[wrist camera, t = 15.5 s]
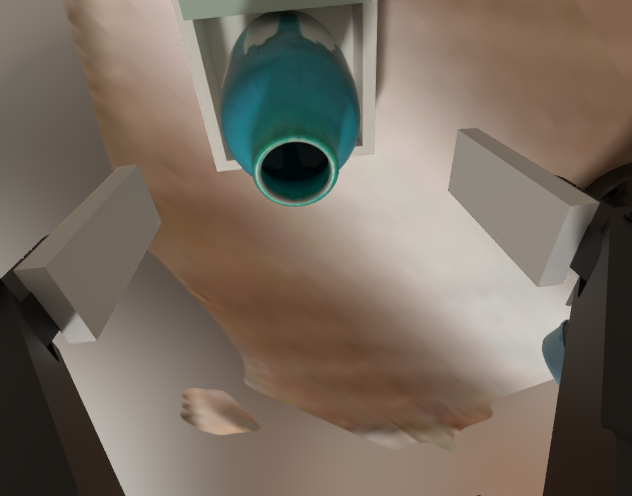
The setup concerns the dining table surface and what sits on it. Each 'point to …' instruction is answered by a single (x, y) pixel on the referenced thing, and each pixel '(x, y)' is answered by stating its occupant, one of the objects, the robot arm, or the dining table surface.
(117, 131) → the dining table surface
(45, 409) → the robot arm
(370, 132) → the pusher lane
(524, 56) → the dining table surface
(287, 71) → the vase
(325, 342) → the dining table surface
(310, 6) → the pusher
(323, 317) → the dining table surface
